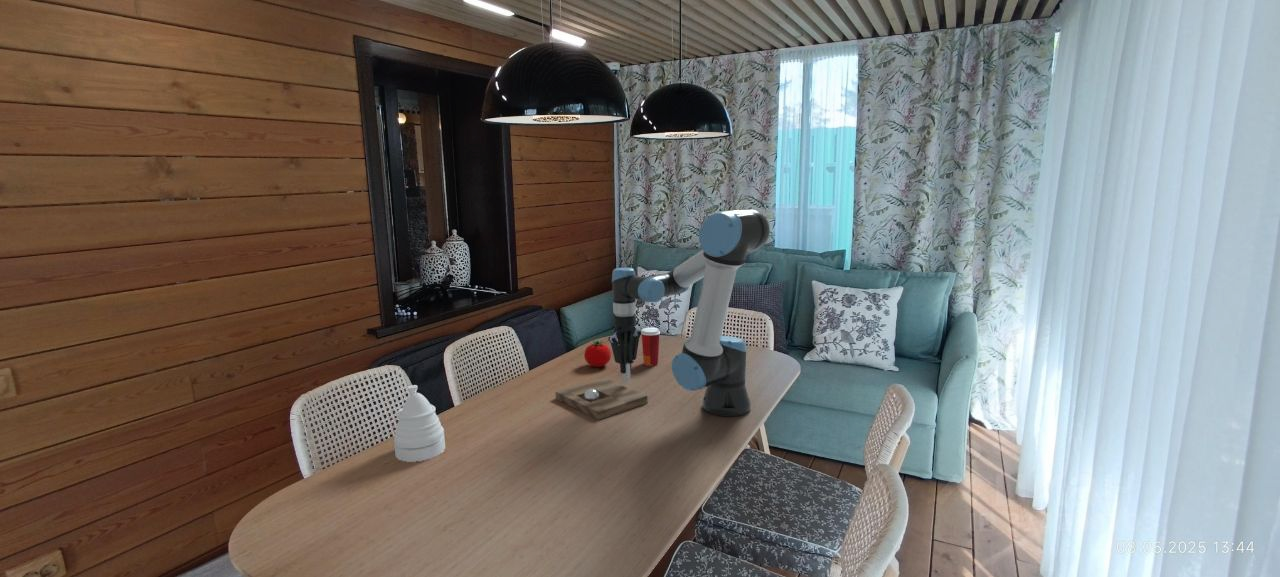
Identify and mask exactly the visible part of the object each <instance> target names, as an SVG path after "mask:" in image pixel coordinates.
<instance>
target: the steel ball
mask: <svg viewBox="0 0 1280 577" xmlns="http://www.w3.org/2000/svg"><path fill="white" fill-rule="evenodd" d="M584 399H585V400H587V401H589V402H593V401H597V400H600V398H599V393H598V392H597V391H596V390H594V389H589V390H587V391H586V392H585V394H584Z"/></svg>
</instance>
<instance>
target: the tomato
mask: <svg viewBox="0 0 1280 577" xmlns="http://www.w3.org/2000/svg"><path fill="white" fill-rule="evenodd" d="M611 352H612V351H611V349H610V347H609V346H608V345H606V344H605V343H603V340H601V341H595V340H592V343H590V345H588V346H586V348H585V351H584V356H583V357H584V360H585V362H586V364H588V365H590V366H592V367H595V368H601V367H604V366H606V365H607V364H608V363H609V362H610V360H611V358H612V353H611Z"/></svg>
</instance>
